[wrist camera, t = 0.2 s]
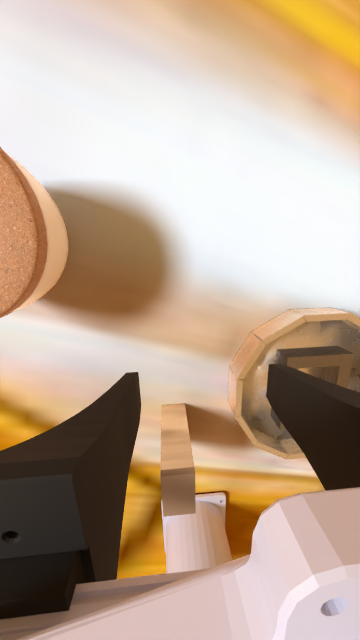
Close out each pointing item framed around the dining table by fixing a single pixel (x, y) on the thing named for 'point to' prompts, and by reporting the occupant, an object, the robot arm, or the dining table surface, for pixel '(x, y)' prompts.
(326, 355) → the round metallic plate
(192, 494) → the wood wick
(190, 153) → the dining table surface
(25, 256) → the lidded jar
